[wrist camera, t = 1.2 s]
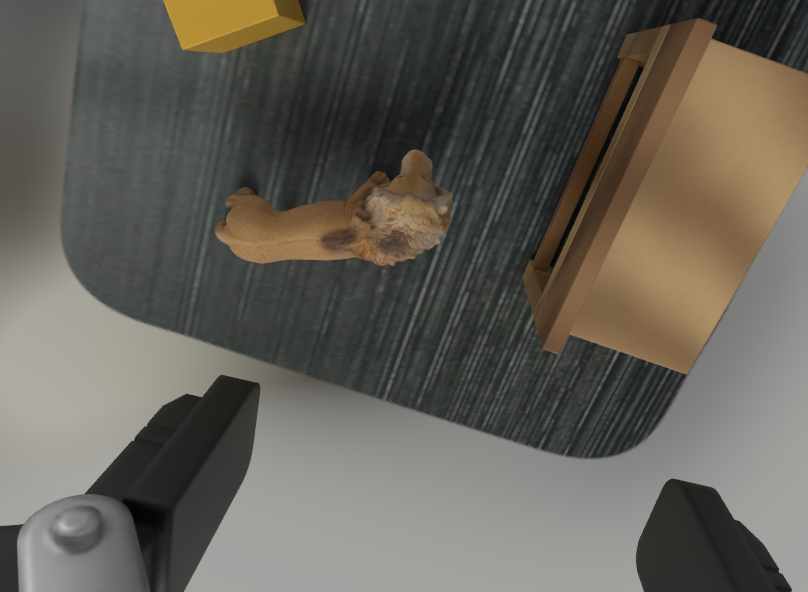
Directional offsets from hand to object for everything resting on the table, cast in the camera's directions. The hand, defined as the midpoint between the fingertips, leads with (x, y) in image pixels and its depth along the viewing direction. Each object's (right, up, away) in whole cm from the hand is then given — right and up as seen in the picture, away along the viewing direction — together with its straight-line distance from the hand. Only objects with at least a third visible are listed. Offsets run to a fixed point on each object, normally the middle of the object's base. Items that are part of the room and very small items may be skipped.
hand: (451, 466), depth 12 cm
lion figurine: (-5, +9, +24) cm, 26 cm away
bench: (+12, +9, +22) cm, 26 cm away
